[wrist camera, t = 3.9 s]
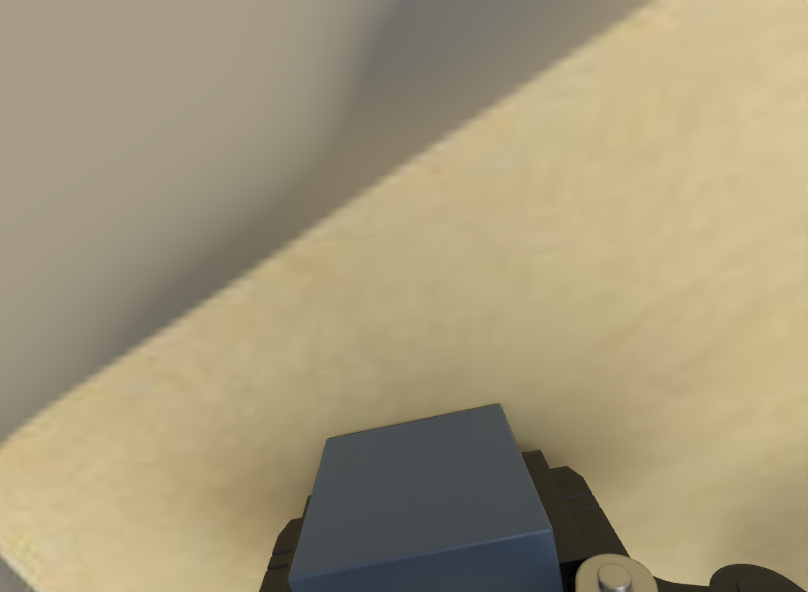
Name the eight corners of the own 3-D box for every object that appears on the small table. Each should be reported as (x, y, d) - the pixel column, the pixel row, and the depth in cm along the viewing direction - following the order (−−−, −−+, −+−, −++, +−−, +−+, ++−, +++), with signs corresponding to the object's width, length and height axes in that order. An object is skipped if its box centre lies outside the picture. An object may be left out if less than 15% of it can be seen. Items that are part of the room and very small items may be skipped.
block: (326, 438, 12) (286, 579, 8) (500, 402, 12) (553, 529, 8) (367, 580, 13) (351, 772, 9) (528, 549, 13) (588, 731, 9)
